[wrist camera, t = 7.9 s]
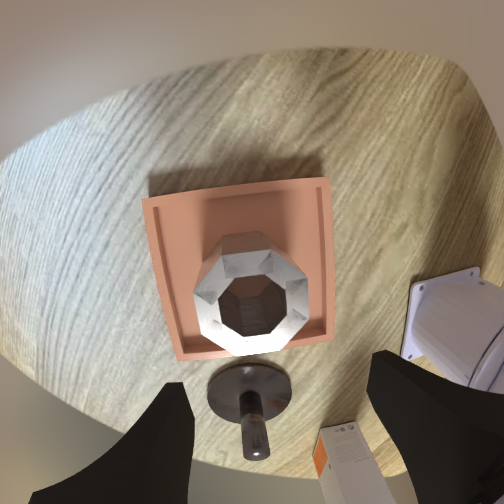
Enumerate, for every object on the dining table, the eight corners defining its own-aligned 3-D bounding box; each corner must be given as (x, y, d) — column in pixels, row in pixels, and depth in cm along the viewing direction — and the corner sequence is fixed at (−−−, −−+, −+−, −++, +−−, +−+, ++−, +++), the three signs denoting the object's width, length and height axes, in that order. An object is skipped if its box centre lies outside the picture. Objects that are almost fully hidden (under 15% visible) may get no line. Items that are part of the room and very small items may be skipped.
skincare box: (318, 427, 23) (353, 522, 11) (356, 419, 23) (400, 505, 12) (310, 457, 24) (335, 539, 13) (344, 450, 25) (376, 526, 13)
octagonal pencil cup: (284, 227, 17) (305, 244, 12) (290, 305, 19) (309, 344, 14) (198, 238, 17) (186, 259, 12) (211, 316, 18) (207, 359, 13)
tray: (321, 176, 17) (329, 176, 16) (327, 329, 20) (334, 339, 18) (148, 197, 17) (141, 199, 15) (180, 349, 19) (177, 361, 18)
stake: (289, 357, 20) (309, 415, 14) (291, 413, 22) (306, 468, 16) (199, 368, 20) (192, 430, 14) (216, 423, 22) (215, 479, 15)
